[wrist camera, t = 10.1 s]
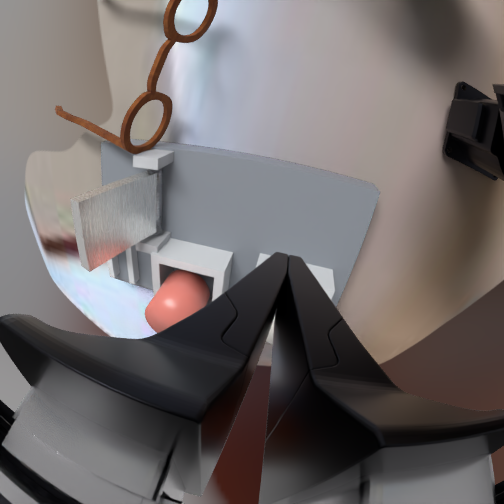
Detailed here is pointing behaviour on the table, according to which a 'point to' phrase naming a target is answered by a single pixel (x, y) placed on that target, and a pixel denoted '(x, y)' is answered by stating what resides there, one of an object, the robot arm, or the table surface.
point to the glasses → (150, 85)
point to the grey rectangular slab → (117, 216)
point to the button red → (177, 299)
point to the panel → (241, 216)
